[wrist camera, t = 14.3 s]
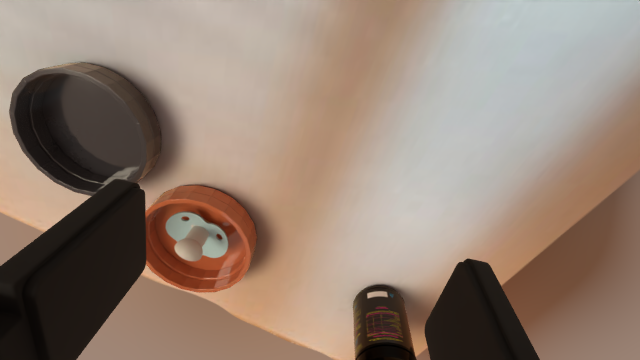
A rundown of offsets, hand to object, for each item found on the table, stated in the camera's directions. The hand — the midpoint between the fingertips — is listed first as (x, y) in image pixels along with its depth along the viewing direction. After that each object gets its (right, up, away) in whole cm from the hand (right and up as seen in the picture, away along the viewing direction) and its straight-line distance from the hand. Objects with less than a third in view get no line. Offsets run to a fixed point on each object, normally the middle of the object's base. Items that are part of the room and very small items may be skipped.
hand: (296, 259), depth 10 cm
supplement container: (+8, -14, +36) cm, 39 cm away
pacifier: (-14, -4, +31) cm, 35 cm away
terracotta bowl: (-13, -4, +32) cm, 35 cm away
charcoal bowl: (-22, +8, +26) cm, 35 cm away
